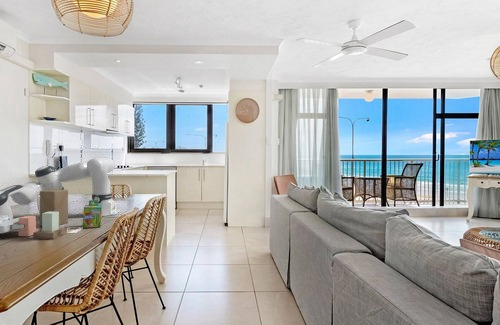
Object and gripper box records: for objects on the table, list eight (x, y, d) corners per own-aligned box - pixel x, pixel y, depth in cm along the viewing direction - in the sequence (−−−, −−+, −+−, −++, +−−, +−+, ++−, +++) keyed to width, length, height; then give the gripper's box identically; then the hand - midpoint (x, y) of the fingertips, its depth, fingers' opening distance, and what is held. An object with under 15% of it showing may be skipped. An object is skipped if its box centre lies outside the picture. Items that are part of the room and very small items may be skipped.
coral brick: (26, 233, 153) (26, 215, 153) (36, 233, 153) (35, 216, 153) (18, 235, 148) (18, 217, 148) (28, 236, 148) (28, 218, 148)
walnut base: (47, 233, 156) (47, 227, 155) (66, 233, 155) (66, 228, 155) (33, 238, 146) (33, 232, 145) (53, 239, 145) (53, 233, 145)
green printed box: (82, 228, 166) (83, 201, 166) (84, 224, 174) (85, 199, 174) (101, 227, 170) (101, 201, 169) (101, 223, 178) (102, 199, 178)
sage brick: (49, 228, 153) (49, 211, 153) (58, 229, 153) (58, 211, 152) (42, 231, 148) (42, 213, 148) (52, 231, 148) (52, 213, 147)
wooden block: (54, 226, 169) (54, 191, 168) (39, 225, 171) (39, 190, 170) (68, 223, 179) (68, 189, 178) (54, 221, 181) (54, 189, 180)
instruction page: (67, 227, 168) (67, 227, 168) (84, 227, 169) (84, 226, 169) (57, 233, 156) (57, 232, 156) (75, 233, 157) (75, 232, 157)
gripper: (19, 225, 161) (44, 226, 161) (-16, 235, 141) (12, 236, 141) (18, 213, 161) (44, 214, 161) (-16, 222, 141) (12, 223, 140)
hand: (29, 224), depth 151 cm, fingers closed on coral brick, 5 cm apart
